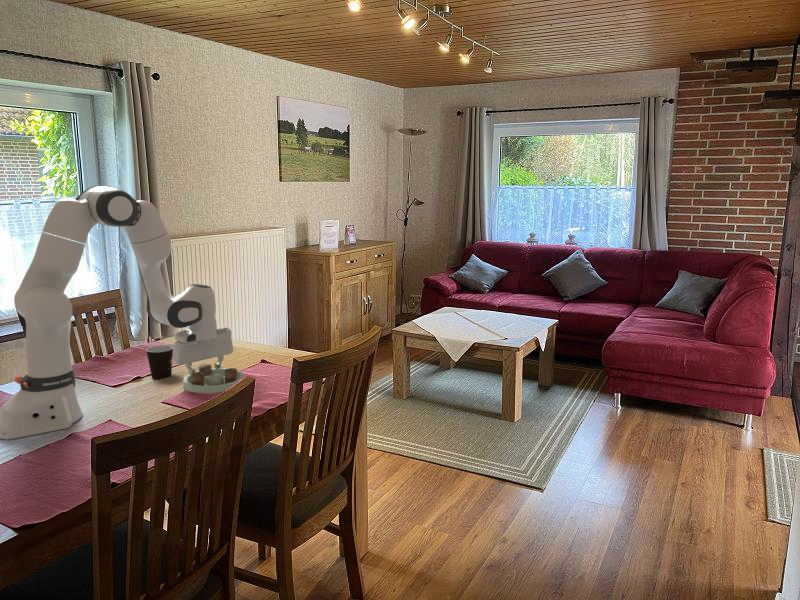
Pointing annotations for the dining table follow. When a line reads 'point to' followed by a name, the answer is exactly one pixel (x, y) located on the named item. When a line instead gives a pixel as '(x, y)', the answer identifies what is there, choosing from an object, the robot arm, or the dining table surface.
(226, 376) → the bead
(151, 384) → the dining table surface
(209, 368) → the bead
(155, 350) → the coffee mug
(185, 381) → the tray
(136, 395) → the dining table surface
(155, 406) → the dining table surface
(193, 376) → the bead
